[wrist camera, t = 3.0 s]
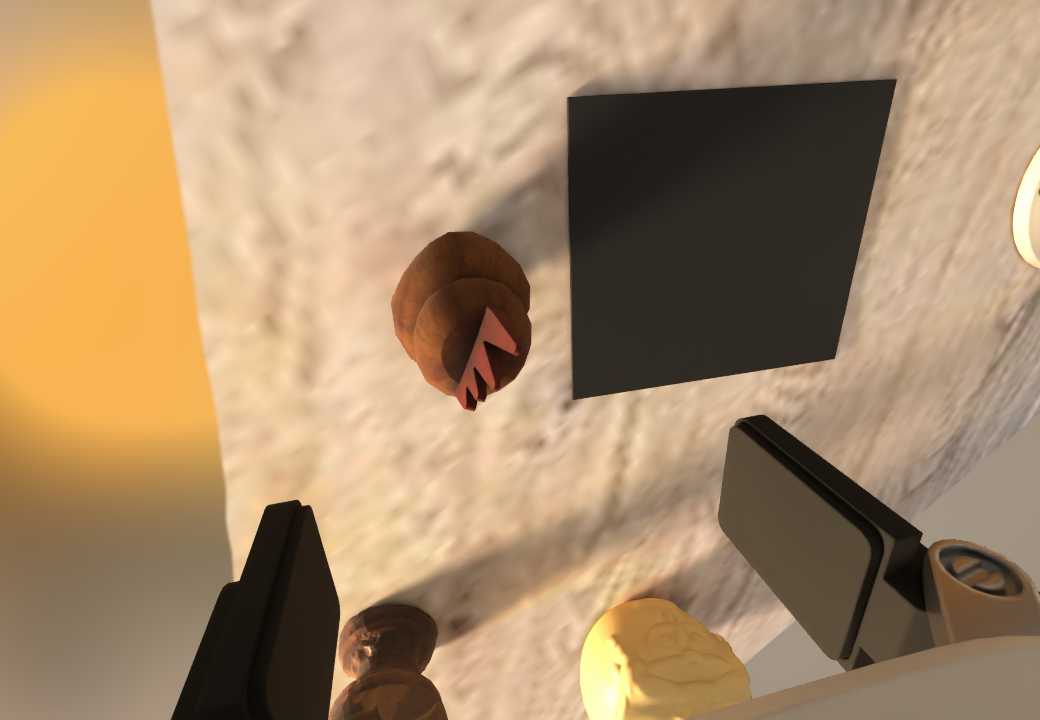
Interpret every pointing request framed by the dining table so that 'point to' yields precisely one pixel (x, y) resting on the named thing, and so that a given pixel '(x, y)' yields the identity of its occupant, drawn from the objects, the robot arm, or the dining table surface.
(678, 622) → the sculpture
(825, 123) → the mat
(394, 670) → the mortar and pestle
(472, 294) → the wooden figurine
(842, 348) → the dining table surface
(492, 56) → the dining table surface
